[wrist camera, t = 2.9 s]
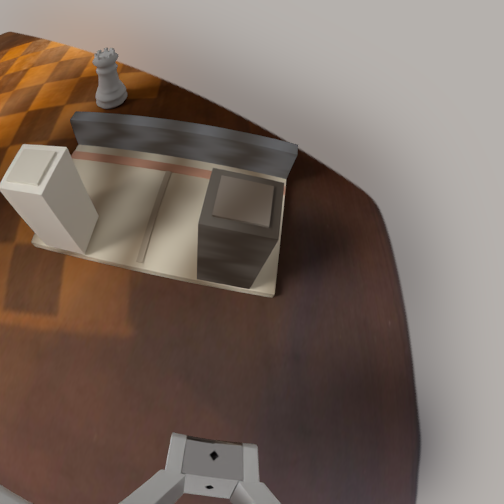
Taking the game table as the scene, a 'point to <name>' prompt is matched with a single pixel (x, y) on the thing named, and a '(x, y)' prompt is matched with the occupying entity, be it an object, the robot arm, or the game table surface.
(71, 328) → the game table surface
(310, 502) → the game table surface
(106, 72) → the rook chess piece
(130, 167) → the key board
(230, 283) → the ebony key
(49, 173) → the ivory key
